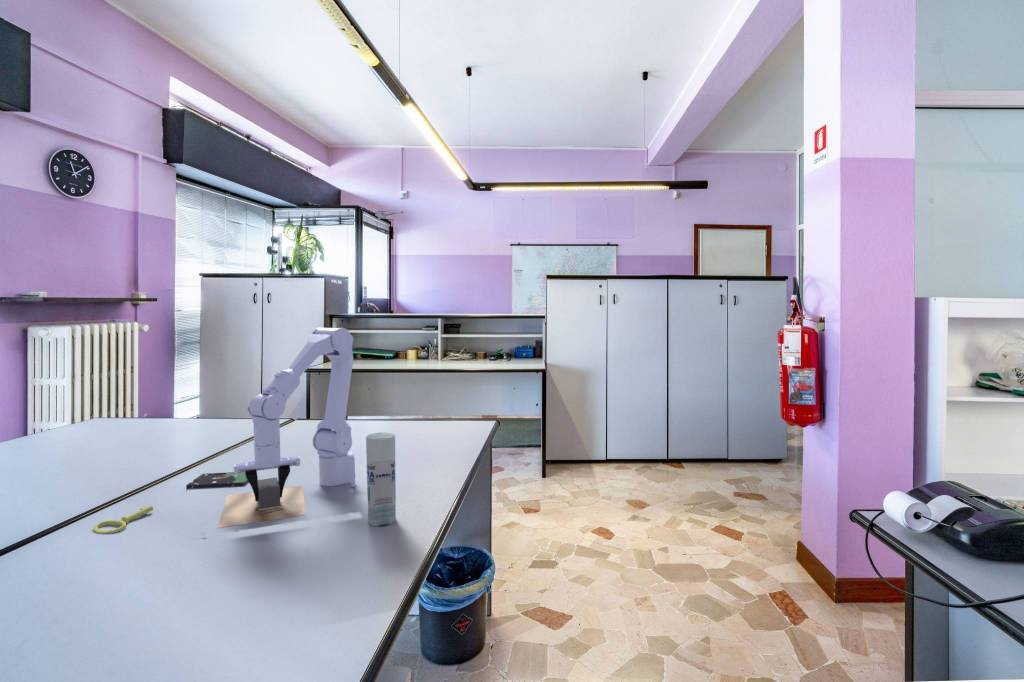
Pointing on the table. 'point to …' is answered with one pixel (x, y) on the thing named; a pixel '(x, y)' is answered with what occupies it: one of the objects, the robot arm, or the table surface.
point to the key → (121, 521)
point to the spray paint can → (381, 478)
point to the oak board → (247, 510)
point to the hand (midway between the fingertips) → (268, 498)
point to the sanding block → (268, 493)
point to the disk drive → (218, 480)
